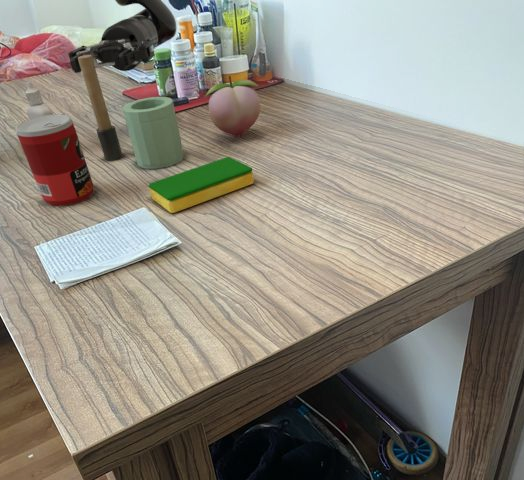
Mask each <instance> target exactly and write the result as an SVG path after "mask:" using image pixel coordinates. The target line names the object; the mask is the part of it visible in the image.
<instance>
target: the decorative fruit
mask: <svg viewBox="0 0 524 480" xmlns="http://www.w3.org/2000/svg"><path fill="white" fill-rule="evenodd" d="M228 81H229V82H226V83H218V84H214V85H213V86H212V87H211V88H209V89H208V90H207V92H206V93H205V95H204V98H207V97H208V96H209V100H208V113H209V117H210V120H211V122H212V123H213V125H214V127H216V128H217V129H218V130H220V131H221V132H223V133H225V134H228V135H231V136H234V137H240V136H242V135H243V134H245V133H246V132H247V131H249V129H251V128H252V127H253V126H254V124H255V123H256V122H257V120H258V118H259V117H260V113H261V101H260V97H259V95H258V93H257V91H256V90H255V88H253V87H256V88H260V86H259V85H258V83H256V82H254V81H252V80H250V79H246V78H245V79H238V80H235V81H232V77H231V75H228Z"/></svg>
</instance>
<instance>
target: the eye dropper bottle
mask: <svg viewBox="0 0 524 480" xmlns="http://www.w3.org/2000/svg"><path fill="white" fill-rule="evenodd" d="M26 87H27V90H26V91H25V92H24V94H25V97H26V99H27V102H28V105H29V106H28V107H27V108H26V113H27V116H28V120H30V119H33V118H37V117H42V116H47V115H54V112H53V110H52V108H51V107H50V106H49V105H48V104H47V103H45V102H44V101H43V98H42V95H41V92H40V90H39V89H38V88H36V87H34V85H33V83H32V82H31V81H27V82H26Z"/></svg>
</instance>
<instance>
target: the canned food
mask: <svg viewBox="0 0 524 480" xmlns="http://www.w3.org/2000/svg"><path fill="white" fill-rule="evenodd" d="M15 132H16V135H17V138H18V141H19V143H20V146H21V148H22V150H23V153H24V156H25V158H26V160H27V161H26V162H27V163H28V166H29V168H30V171H31V173H32V175H33V177H34V180H35V182H36V185H37V187H38V190H39V192H40V195H41V197H42V199H43V200H44V202H45V203H46V204H48V205H50V206H54V207H62V206H63V207H64V206H72V205H75V204H78V203H81V202H83V201H85V200H87V199H89V198H91V196H92V195H93V194H94V191H95V190H94V189H95V187H94V182H93V179H92V176H91V173H90V170H89V166H88V164H87V161H86V158H85V154H84V151H83V148H82V145H81V143H80V142H81V141H80V139H79V135H78V133H77V130H76V128H75V124H74V122H73V119H72V117H71V116H70V115H66V114H53V115H47V116H42V117H37V118H33V119H30V120H29V119H28V120H25V121H23V122H21V123H19V124H17V126H16V127H15Z"/></svg>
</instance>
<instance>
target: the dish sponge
mask: <svg viewBox="0 0 524 480" xmlns="http://www.w3.org/2000/svg"><path fill="white" fill-rule="evenodd" d="M254 182H255V181H254V172H253V167H251V166H249V165H248V164H245V163H243V162H241V161H239V160H237V159H234V158H233V157H230V156H226V157H223V158H220V159H217V160H215V161H212V162H209V163H206V164H202V165H200V166H196V167H193V168H191V169H188V170H185V171H182V172H179V173H176V174H172V175H170V176H167V177H165V178H161V179H159V180H155V181H153V182H149V184H148V188H149V193H150V196H151V200H153V201H154V202H156V203H157V204H159V205H160V206H161V207H162V208H164V209H165V210H166V211H168V212H169V213H171V214H174V213H177V212H181V211H183V210H185V209H188V208H191V207H193V206H196V205H199V204H202V203H204V202H207V201H210V200H212V199H215V198H218V197H221V196H223V195H226V194H228V193H231V192H234V191H237V190H240V189H242V188H244V187H245V188H246V187H248V186H250V185H253V184H254Z"/></svg>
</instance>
